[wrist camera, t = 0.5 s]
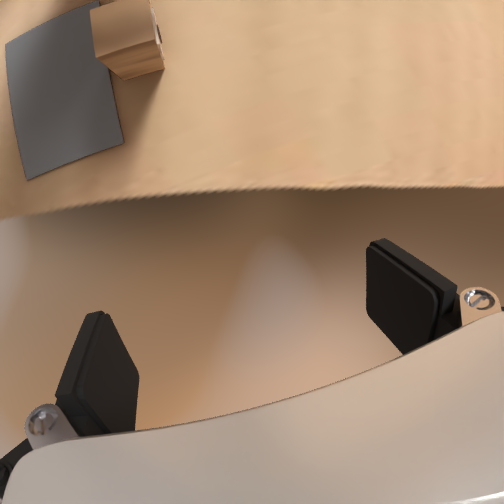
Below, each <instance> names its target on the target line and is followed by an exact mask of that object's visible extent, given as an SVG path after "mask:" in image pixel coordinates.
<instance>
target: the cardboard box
mask: <svg viewBox="0 0 504 504" xmlns="http://www.w3.org/2000/svg"><path fill="white" fill-rule="evenodd" d="M90 18H91V27H92V35H93V42H94V49H95V56H96V58H97V59H98V60H99V61H100V62H102V63H103V64H104V65H105V66H107V67H108V68H109V69H110V70H111V71H113V72H114V73H115V74H116V75H117V76H119V77H120V78H121V79H122V80H123V81H124V80H127V79H130V78H134V77H137V76H140V75H144V74H147V73H151V72H154V71H158V70H162V69H165V67H164V62H163V60H164V56H163V51H162V46H161V43H162V40H161V35H160V31H159V28H158V25H157V21H156V18H155V14H154V10H153V7H151V6H150V2H149V0H117V1H114V2H111V3H108V4H105V5H102V6H100V7H97V8H94V9H91V10H90Z"/></svg>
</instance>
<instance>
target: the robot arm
mask: <svg viewBox="0 0 504 504" xmlns="http://www.w3.org/2000/svg"><path fill="white" fill-rule="evenodd" d="M366 267H367V268H366V270H367V271H366V275H367V276H366V279H367V281H366V282H367V283H366V285H367V286H366V292H367V293H366V310H367V314H368V316H369V317H370V318H371V319H372V320H373V322H374V323H375V324H376V325H377V326H378V327H379V328H380V329H381V330H382V332H383V333H384V334H385V335H386V336H387V337H388V338H389V339H390V340H391V342H392V343H393V344H394V345H395V346H396V347H397V348H398V350H399V351H400V352H401V353H402V354H403V355H402V356H399V357H397V358H395V359H393V360H391V361H388V362H386V363H383V364H381V365H379V366H376V367H374V368H371V369H369V370H366V371H364V372H361V373H359V374H356V375H354V376H351V377H348V378H345V379H343V380H340V381H337V382H335V383H332V384H329V385H326V386H323V387H320V388H317V389H314V390H312V391H309V392H306V393H302V394H299V395H296V396H293V397H289V398H286V399H283V400H280V401H276V402H272V403H269V404H265V405H262V406H258V407H254V408H251V409H246V410H242V411H238V412H234V413H231V414H226V415H222V416H217V417H213V418H208V419H203V420H198V421H193V422H188V423H182V424H177V425H171V426H165V427H159V428H152V429H145V430H137V431H135V420H136V408H137V397H138V387H139V374H138V371H137V368H136V367H135V365H134V363H133V361H132V359H131V357H130V355H129V353H128V351H127V349H126V347H125V345H124V344H123V342H122V340H121V338H120V336H119V334H118V332H117V329H116V327H115V325H114V323H113V321H112V319H111V317H110V315H109V314H105V313H104V312H103V311H98V312H94V313H89V314H87V315H86V317H85V319H84V321H83V324H82V326H81V328H80V331H79V333H78V335H77V338H76V341H75V343H74V345H73V348H72V350H71V353H70V355H69V358H68V361H67V363H66V366H65V369H64V371H63V374H62V377H61V379H60V382H59V385H58V388H57V391H56V394H55V396H56V398H57V401H56V404H55V405H54V404H43V405H41V406H39V407H37V408H35V409H34V410H33V411H32V412H31V413H30V414H29V416H28V417H27V419H26V422H25V433H26V435H27V439H25V440H24V441H23V442H22V443H20V444H19V445H18V446H17V447H15V448H14V449H13V450H11V451H10V452H9V453H8V454H6V455H5V456H4V457H3V458H2V459H0V504H504V307H501V306H500V302H499V299H498V297H497V296H496V295H495V294H494V293H493V292H491V291H489V290H487V289H484V288H480V287H471V288H467V289H465V290H464V291H462V293H461V294H460V295H458V294H457V293H456V291H457V285H456V284H454V283H453V282H451V281H450V280H448V279H447V278H446V277H444V276H443V275H441V274H440V273H438V272H437V271H435V270H434V269H432V268H431V267H429V266H428V265H426V264H425V263H423V262H422V261H420V260H419V259H417V258H416V257H414V256H413V255H411V254H410V253H408V252H406V251H405V250H403V249H402V248H400V247H399V246H397V245H395V244H394V243H392V242H391V241H389V240H387V239H385V238H384V239H380V240H376V241H373V242H371V243H370V245H369V247H367V249H366Z"/></svg>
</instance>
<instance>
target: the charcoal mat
mask: <svg viewBox="0 0 504 504" xmlns="http://www.w3.org/2000/svg"><path fill="white" fill-rule="evenodd" d="M97 7H100V3H99V0H97V1H94V2H92V3H89V4H86V5H84V6H81V7H79V8H76V9H74V10H72V11H69V12H67V13H65V14H62V15H60V16H58V17H56V18H54V19H51V20H49V21H47V22H45V23H43V24H41V25H39V26H37V27H35V28H33V29H32V30H30V31H28V32H26V33H24V34H22V35H20V36H19V37H17V38H15V39H14V40H12V41H10V42H8V43H7V44H5V50H6V66H7V77H8V86H9V95H10V102H11V109H12V115H13V121H14V126H15V132H16V137H17V142H18V146H19V151H20V155H21V159H22V164H23V168H24V172H25V175H26V179H27V180H29V179H31V178H34V177H36V176H38V175H41V174H43V173H45V172H47V171H50V170H52V169H55V168H57V167H59V166H62V165H64V164H67V163H69V162H72V161H75V160H77V159H80V158H83V157H85V156H88V155H91V154H93V153H96V152H99V151H102V150H105V149H108V148H111V147H114V146H117V145H120V144H123V143H124V140H123V136H122V131H121V127H120V122H119V118H118V113H117V109H116V104H115V99H114V94H113V89H112V84H111V78H110V73H109V68H108V67H107V66H105V65H104V64H103V63H102V62H100V61H99V60H98V59H97V58H96V56H95V49H94V42H93V35H92V27H91V18H90V10H91V9H94V8H97Z"/></svg>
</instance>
